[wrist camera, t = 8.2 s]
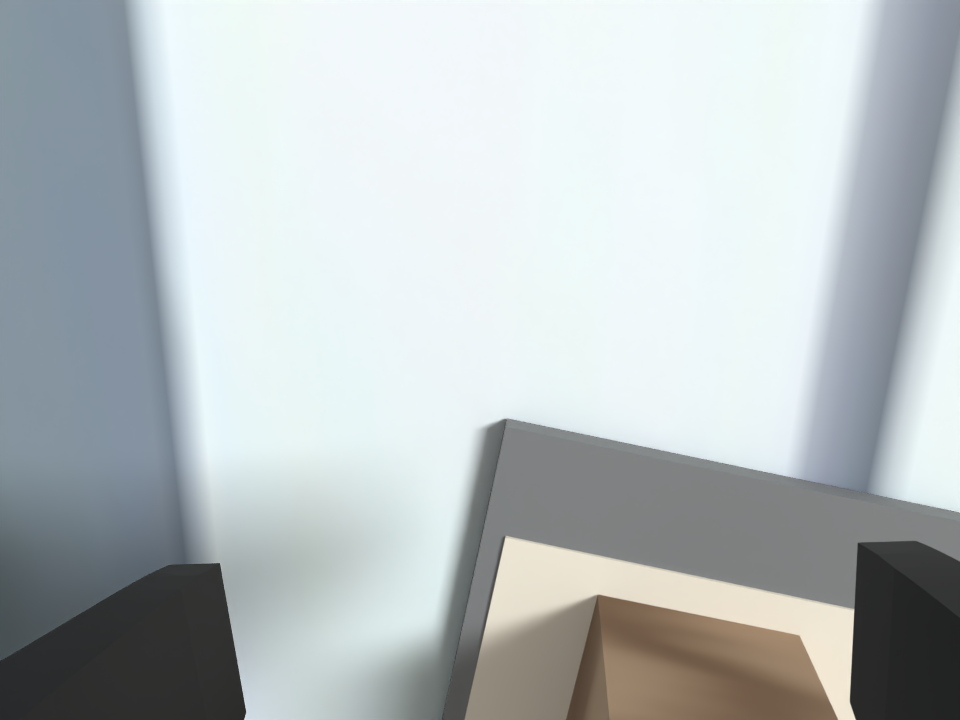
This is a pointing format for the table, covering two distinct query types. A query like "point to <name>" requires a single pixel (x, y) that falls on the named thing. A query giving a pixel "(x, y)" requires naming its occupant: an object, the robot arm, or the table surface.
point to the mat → (657, 561)
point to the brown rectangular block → (691, 669)
